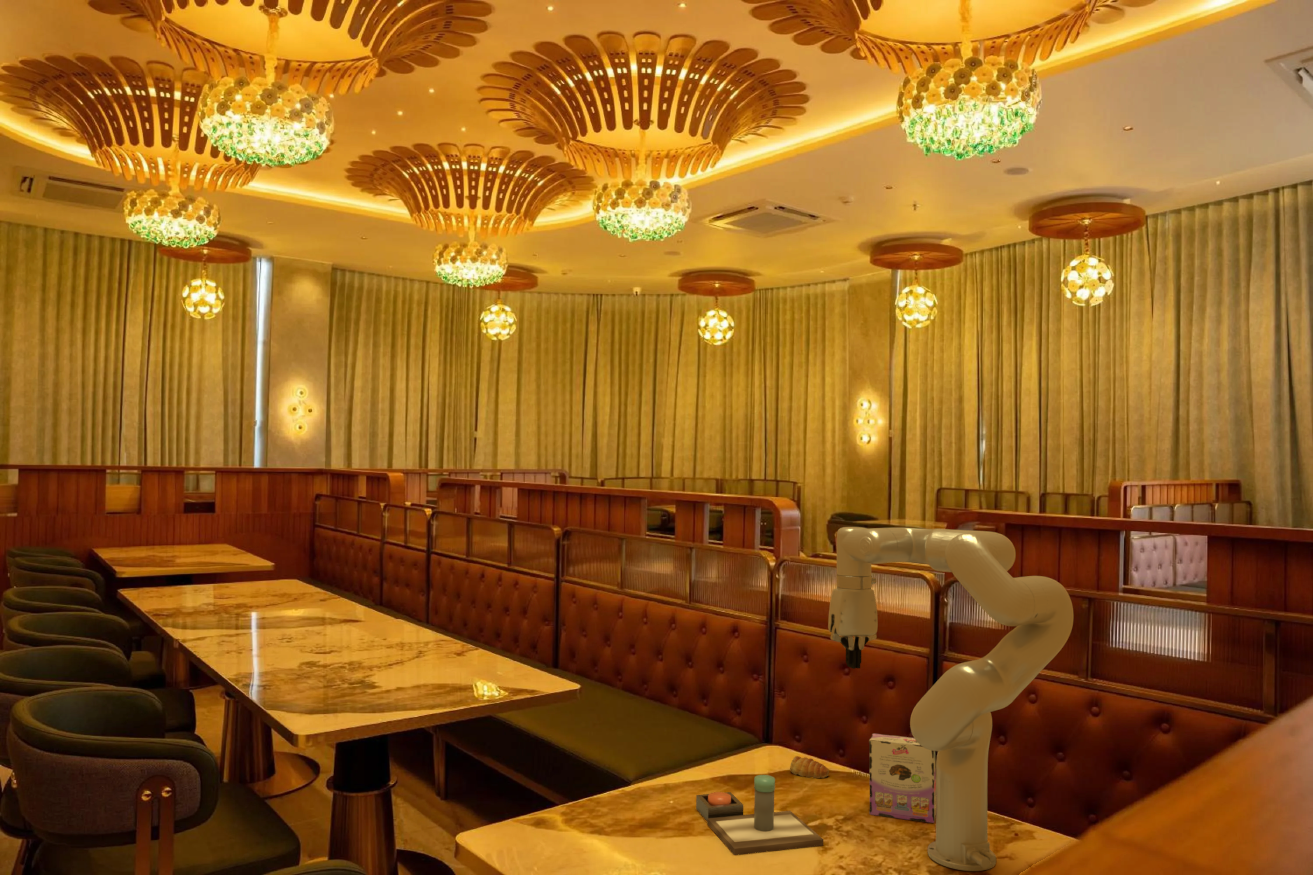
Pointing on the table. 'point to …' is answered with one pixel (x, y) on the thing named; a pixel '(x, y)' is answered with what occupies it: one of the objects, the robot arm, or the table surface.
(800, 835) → the board
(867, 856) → the table surface
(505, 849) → the table surface
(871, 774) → the candy box
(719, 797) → the button
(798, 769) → the pastry
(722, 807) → the button housing
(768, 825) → the cylinder
